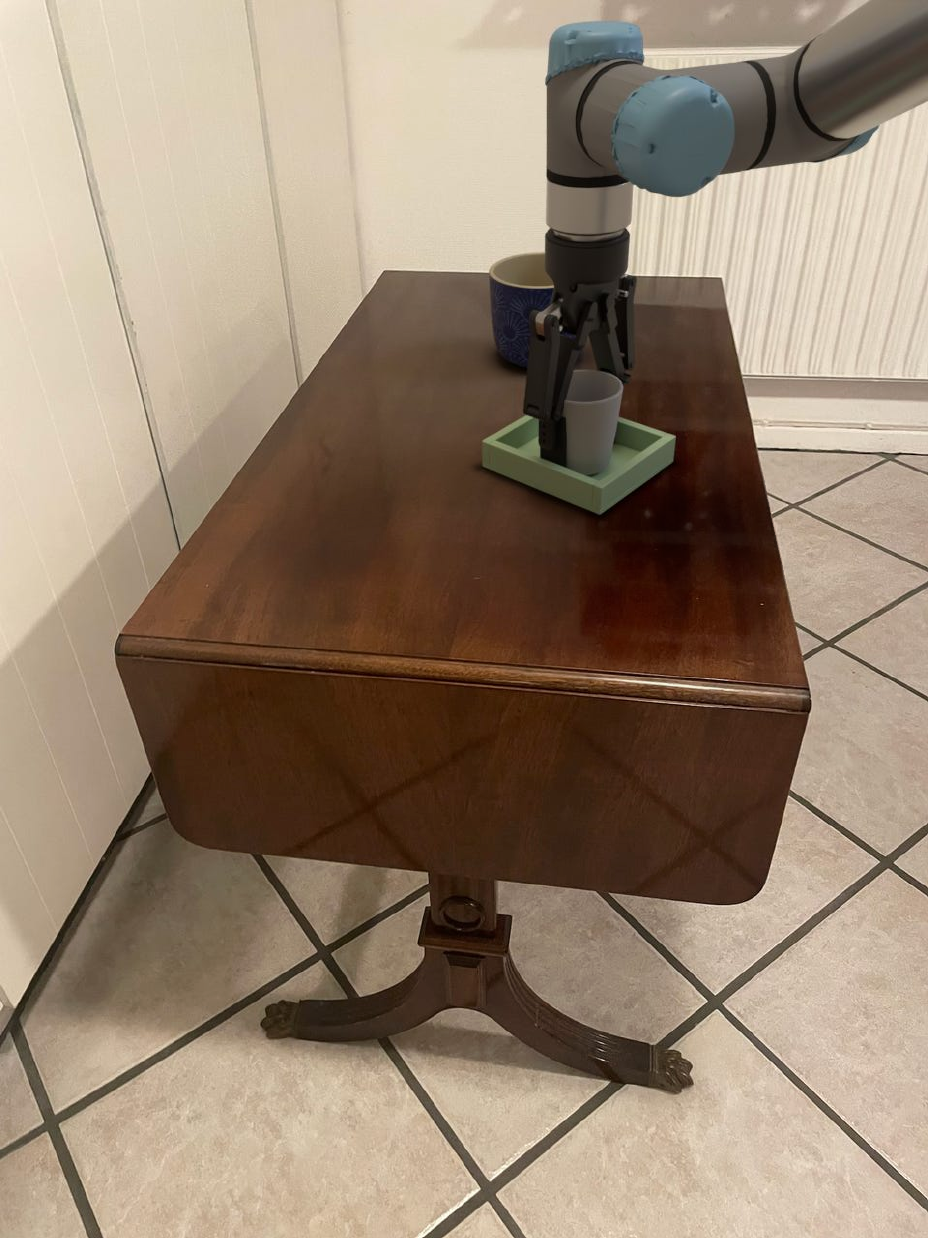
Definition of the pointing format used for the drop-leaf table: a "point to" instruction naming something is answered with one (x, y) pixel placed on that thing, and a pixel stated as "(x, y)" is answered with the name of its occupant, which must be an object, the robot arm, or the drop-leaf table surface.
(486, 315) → the drop-leaf table surface
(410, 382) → the drop-leaf table surface
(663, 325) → the drop-leaf table surface
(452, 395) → the drop-leaf table surface
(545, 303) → the planter
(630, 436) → the tray
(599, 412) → the cup
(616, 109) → the robot arm
